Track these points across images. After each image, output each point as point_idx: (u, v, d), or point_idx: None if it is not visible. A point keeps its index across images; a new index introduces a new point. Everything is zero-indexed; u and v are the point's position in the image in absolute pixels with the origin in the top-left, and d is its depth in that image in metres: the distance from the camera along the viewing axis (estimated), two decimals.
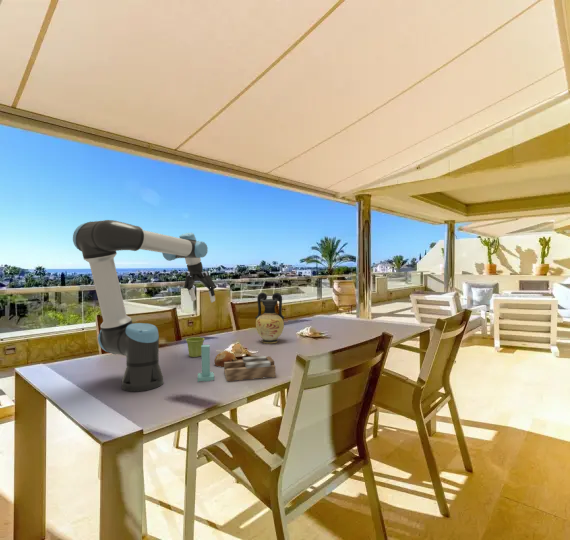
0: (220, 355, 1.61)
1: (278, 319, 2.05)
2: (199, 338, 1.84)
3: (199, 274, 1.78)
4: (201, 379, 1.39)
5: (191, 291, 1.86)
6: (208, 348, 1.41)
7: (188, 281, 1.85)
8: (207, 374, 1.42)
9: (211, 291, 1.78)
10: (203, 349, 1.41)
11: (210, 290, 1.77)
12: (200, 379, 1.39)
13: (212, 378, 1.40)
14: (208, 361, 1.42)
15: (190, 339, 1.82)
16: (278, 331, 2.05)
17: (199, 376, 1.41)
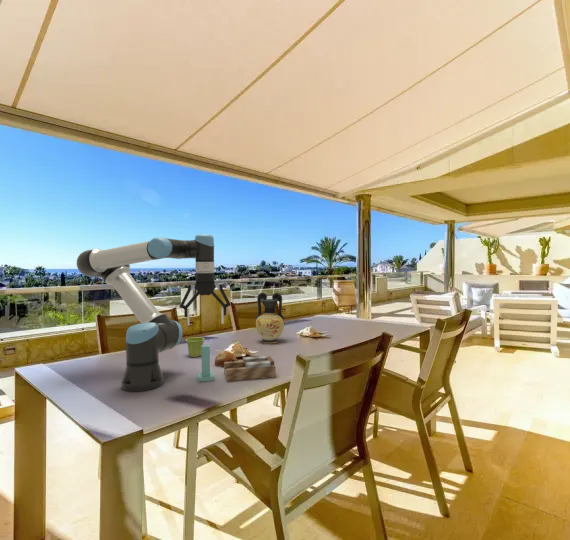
0: (220, 355, 1.61)
1: (278, 319, 2.05)
2: (199, 338, 1.84)
3: None
4: (201, 379, 1.39)
5: (221, 310, 1.45)
6: (208, 348, 1.42)
7: None
8: (207, 374, 1.42)
9: None
10: (203, 349, 1.41)
11: None
12: (200, 379, 1.39)
13: (212, 378, 1.40)
14: (208, 361, 1.42)
15: (190, 339, 1.82)
16: (278, 331, 2.05)
17: (199, 376, 1.41)
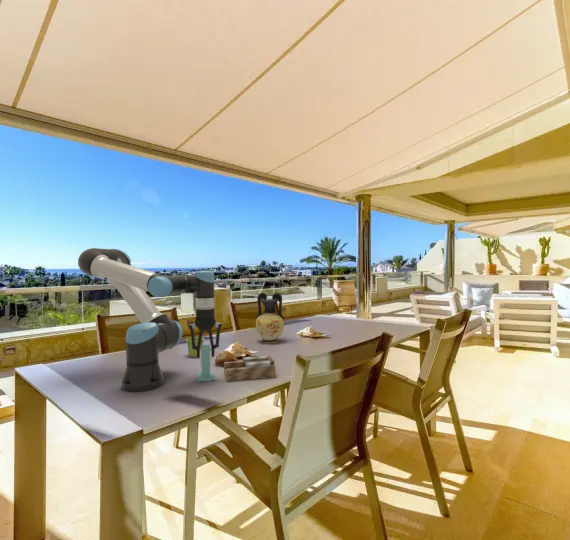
0: (221, 355, 1.61)
1: (278, 319, 2.05)
2: None
3: None
4: (201, 379, 1.39)
5: None
6: (208, 348, 1.41)
7: (216, 336, 1.44)
8: (207, 374, 1.41)
9: None
10: (203, 349, 1.41)
11: None
12: (200, 379, 1.39)
13: (212, 378, 1.40)
14: (208, 361, 1.41)
15: (190, 339, 1.82)
16: (278, 331, 2.05)
17: (199, 376, 1.41)
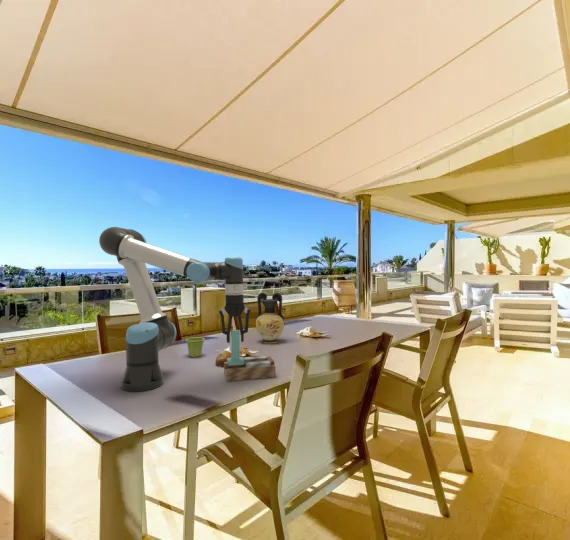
0: (221, 355, 1.61)
1: (278, 319, 2.05)
2: (199, 338, 1.84)
3: None
4: (232, 363, 1.42)
5: None
6: (238, 333, 1.44)
7: (245, 321, 1.47)
8: (237, 358, 1.44)
9: None
10: (233, 334, 1.44)
11: None
12: (231, 363, 1.42)
13: (242, 362, 1.43)
14: (238, 346, 1.44)
15: (190, 339, 1.82)
16: (278, 331, 2.05)
17: (229, 360, 1.44)
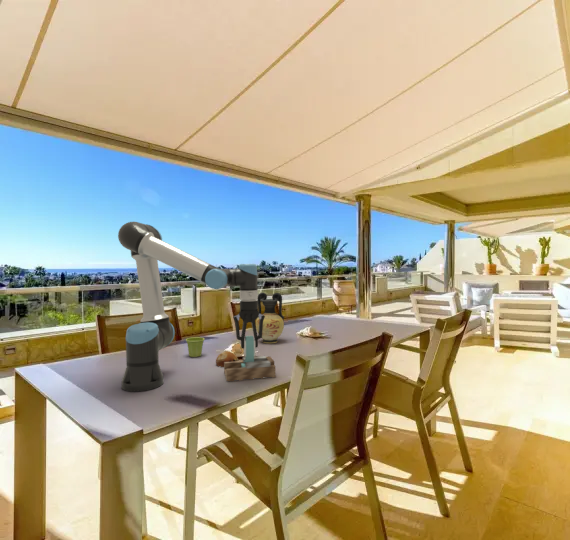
0: (222, 355, 1.61)
1: (278, 319, 2.05)
2: (199, 338, 1.84)
3: None
4: None
5: None
6: (252, 339, 1.46)
7: (259, 327, 1.48)
8: None
9: None
10: (247, 340, 1.45)
11: None
12: None
13: None
14: (252, 351, 1.46)
15: (190, 339, 1.82)
16: (278, 331, 2.05)
17: (244, 366, 1.45)
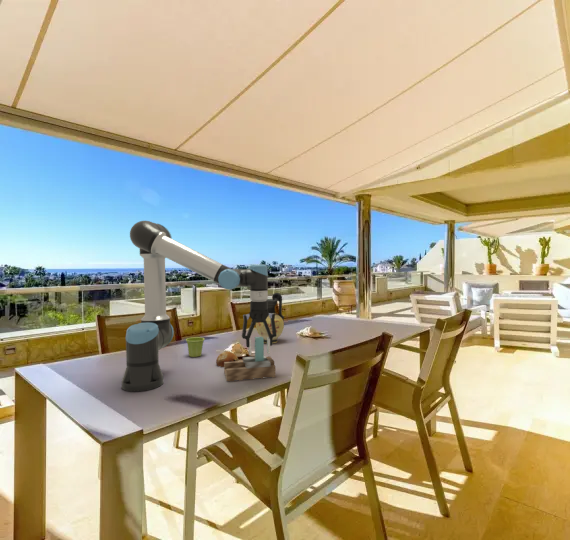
0: (222, 355, 1.61)
1: (278, 319, 2.05)
2: (199, 338, 1.84)
3: None
4: None
5: (267, 340, 1.50)
6: (262, 340, 1.47)
7: (272, 326, 1.50)
8: None
9: None
10: (257, 341, 1.47)
11: None
12: None
13: None
14: (262, 352, 1.47)
15: (190, 339, 1.82)
16: (278, 331, 2.05)
17: None
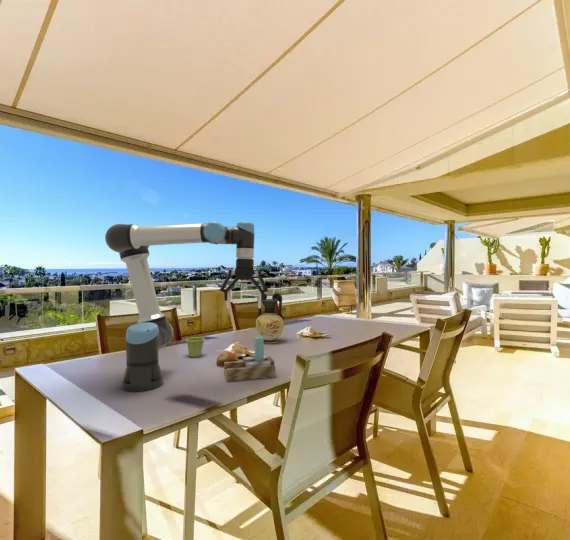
0: (222, 355, 1.61)
1: (278, 319, 2.05)
2: (199, 338, 1.84)
3: None
4: None
5: (258, 295, 1.51)
6: (262, 340, 1.47)
7: (261, 282, 1.50)
8: None
9: None
10: (257, 341, 1.47)
11: None
12: None
13: None
14: (262, 352, 1.47)
15: (190, 339, 1.82)
16: (278, 331, 2.05)
17: None
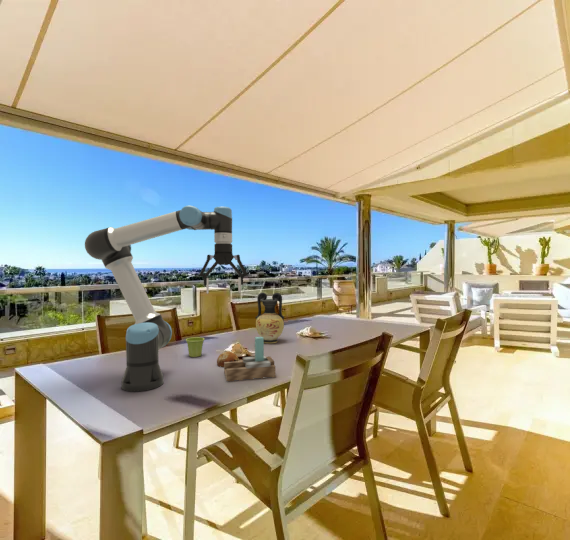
0: (222, 355, 1.61)
1: (278, 319, 2.05)
2: (199, 338, 1.84)
3: None
4: None
5: (238, 280, 1.51)
6: (262, 340, 1.47)
7: (240, 267, 1.51)
8: None
9: None
10: (257, 341, 1.47)
11: None
12: None
13: None
14: (262, 352, 1.47)
15: (190, 339, 1.82)
16: (278, 331, 2.05)
17: None
